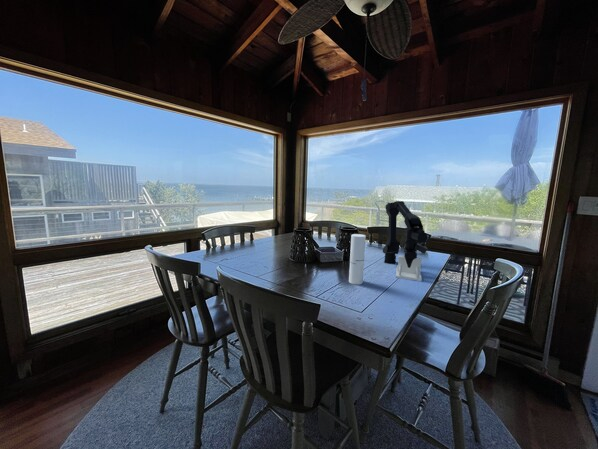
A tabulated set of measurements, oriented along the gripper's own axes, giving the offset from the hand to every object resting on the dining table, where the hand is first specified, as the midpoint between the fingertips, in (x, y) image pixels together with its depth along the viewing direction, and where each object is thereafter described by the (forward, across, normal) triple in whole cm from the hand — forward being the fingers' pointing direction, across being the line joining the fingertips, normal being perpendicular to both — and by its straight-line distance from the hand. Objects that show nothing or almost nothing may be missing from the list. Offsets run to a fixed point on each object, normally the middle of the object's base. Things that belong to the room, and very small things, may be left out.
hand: (408, 265), depth 146 cm
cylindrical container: (+6, -25, +26) cm, 37 cm away
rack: (+5, 0, 0) cm, 5 cm away
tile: (+4, 0, 0) cm, 4 cm away
